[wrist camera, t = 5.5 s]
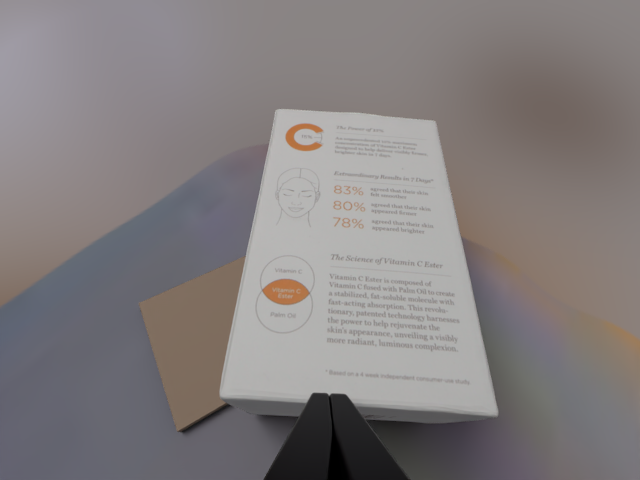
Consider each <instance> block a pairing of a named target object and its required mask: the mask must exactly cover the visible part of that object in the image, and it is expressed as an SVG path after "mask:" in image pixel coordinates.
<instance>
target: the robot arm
mask: <svg viewBox="0 0 640 480" xmlns="http://www.w3.org/2000/svg"><path fill="white" fill-rule="evenodd" d="M264 480H410V479H409V478H408V476H407V475H406V473H405V472H404V471H403V469H402V468H401V467H400V465H399V464H398V463H397V461H396V460H395V459H394V457H393V456H392V455H391V453H390V452H389V451H388V449H387V448H386V447H385V445H384V444H383V443H382V441H381V440H380V439H379V437H378V436H377V435H376V433H375V432H374V431H373V429H372V428H371V426H370V425H369V424H368V422H367V421H366V420H365V418H364V417H363V416H362V414H361V413H360V412H359V410H358V409H357V408H356V406H355V405H354V404H353V402H352V401H351V400H350V398H349V397H348V396H347V395H346V394H341V393H331V394H330V395H329V394H328V393H317V392H314V393H312V394H311V396H310V398H309V399H308V401H307V403H306V405H305V407H304V408H303V410H302V412H301V414H300V415H299V417H298V419H297V421H296V423H295V424H294V426H293V428H292V430H291V431H290V433H289V435H288V437H287V439H286V440H285V442H284V444H283V446H282V448H281V449H280V451H279V453H278V455H277V456H276V458H275V460H274V462H273V464H272V465H271V467H270V469H269V471H268V472H267V474H266V476H265V478H264Z"/></svg>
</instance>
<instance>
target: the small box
mask: <svg viewBox="0 0 640 480" xmlns="http://www.w3.org/2000/svg"><path fill="white" fill-rule="evenodd" d="M314 392H317V393H328V394H329V395H330V394H331V393H341V394H346V395H347V396H348V397H349V398H350V400H351V401H352V402H353V404H354V405H355V406H356V408H357V409H358V410H359V412H360V413H361V414H362V416H363V417H364V418H365V419H366V420H388V421H407V422H419V423H450V422H463V421H474V420H483V419H490V418H496V417H497V416H498V412H499V411H498V407H497V403H496V399H495V393H494V388H493V384H492V379H491V375H490V370H489V365H488V361H487V356H486V351H485V347H484V342H483V338H482V333H481V328H480V323H479V318H478V314H477V309H476V304H475V299H474V294H473V289H472V285H471V280H470V276H469V271H468V267H467V262H466V258H465V253H464V248H463V244H462V239H461V235H460V231H459V226H458V221H457V217H456V212H455V208H454V204H453V199H452V194H451V190H450V185H449V181H448V176H447V171H446V167H445V162H444V157H443V153H442V148H441V144H440V139H439V134H438V129H437V125H436V122H435V121H431V120H419V119H408V118H397V117H386V116H379V115H372V114H365V113H352V112H321V111H307V110H291V109H278V110H276V111H275V116H274V122H273V128H272V133H271V138H270V143H269V148H268V153H267V158H266V162H265V167H264V172H263V177H262V182H261V187H260V192H259V197H258V202H257V206H256V211H255V216H254V220H253V225H252V230H251V235H250V240H249V244H248V249H247V254H246V258H245V263H244V268H243V273H242V278H241V283H240V288H239V293H238V298H237V303H236V307H235V312H234V317H233V322H232V327H231V332H230V337H229V341H228V346H227V351H226V356H225V361H224V367H223V372H222V378H221V385H220V391H219V393H220V398H221V400H223V401H224V402H226V403H228V404H230V405H231V406H234V407H237V408H239V409H242V410H244V411H246V412H248V413H250V414H256V415H278V416H299V415H300V414H301V412H302V410H303V408H304V407H305V405H306V403H307V401H308V399H309V398H310V396H311V394H312V393H314Z"/></svg>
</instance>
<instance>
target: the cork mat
mask: <svg viewBox="0 0 640 480" xmlns="http://www.w3.org/2000/svg"><path fill="white" fill-rule="evenodd" d="M245 258H246V256H244V257H242V258H240V259H238V260H235V261H233V262H231V263H228V264H226V265H224V266H222V267H219V268H217V269H215V270H213V271H210V272H208V273H206V274H204V275H201V276H199V277H197V278H195V279H192V280H190V281H188V282H186V283H183V284H181V285H179V286H177V287H174V288H172V289H170V290H167V291H165V292H163V293H161V294H158V295H156V296H154V297H152V298H149V299H147V300H145V301H143V302H140V303H139V306H140V309H141V313H142V316H143V319H144V323H145V326H146V329H147V333H148V336H149V339H150V343H151V346H152V349H153V353H154V356H155V359H156V363H157V366H158V369H159V373H160V376H161V379H162V383H163V386H164V389H165V393H166V396H167V399H168V403H169V406H170V409H171V413H172V416H173V419H174V423H175V426H176V429H177V432H182V431H183V430H185V429H187V428H188V427H190V426H192V425H193V424H195V423H197V422H199V421H200V420H202V419H204V418H205V417H207V416H209V415H210V414H212V413H214V412H215V411H217V410H219V409H221V408H222V407H224V406H226V405H227V404H228V403H226V402H224V401H223V400H221V398H220V393H219V391H220V385H221V378H222V372H223V367H224V361H225V356H226V351H227V346H228V341H229V337H230V332H231V327H232V322H233V317H234V312H235V307H236V303H237V298H238V293H239V288H240V283H241V278H242V273H243V268H244V263H245Z"/></svg>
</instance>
